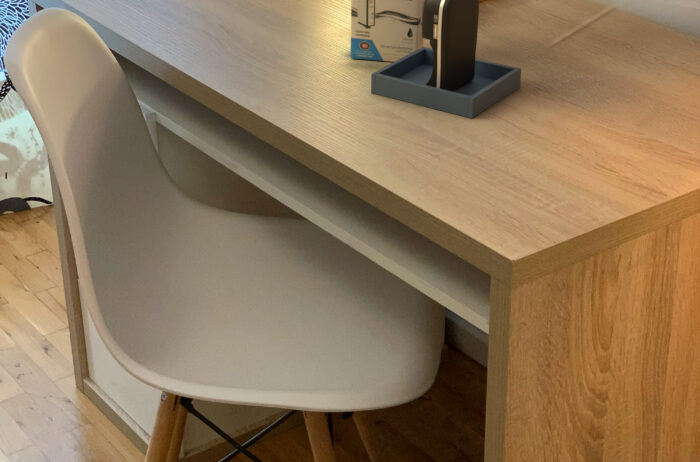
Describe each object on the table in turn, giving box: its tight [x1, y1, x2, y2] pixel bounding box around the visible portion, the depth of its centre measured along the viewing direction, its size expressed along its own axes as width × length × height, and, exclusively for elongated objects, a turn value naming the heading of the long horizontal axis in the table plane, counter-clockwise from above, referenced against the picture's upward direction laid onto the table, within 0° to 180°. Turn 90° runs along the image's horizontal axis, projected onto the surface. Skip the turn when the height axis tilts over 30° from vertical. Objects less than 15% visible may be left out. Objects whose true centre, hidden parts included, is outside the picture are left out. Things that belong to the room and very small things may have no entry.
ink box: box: [350, 0, 425, 63], centre depth 130 cm, size 9×5×12 cm, turn 76°
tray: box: [370, 46, 522, 119], centre depth 122 cm, size 13×11×2 cm
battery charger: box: [422, 0, 480, 91], centre depth 120 cm, size 7×4×11 cm, turn 143°
